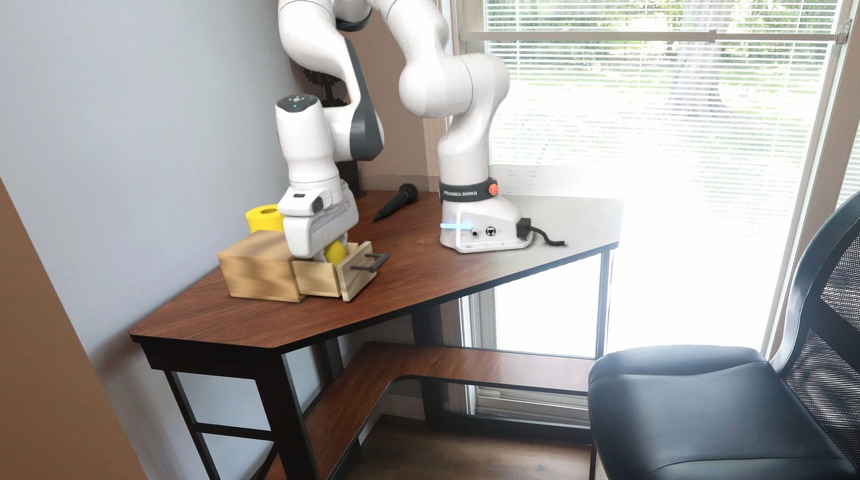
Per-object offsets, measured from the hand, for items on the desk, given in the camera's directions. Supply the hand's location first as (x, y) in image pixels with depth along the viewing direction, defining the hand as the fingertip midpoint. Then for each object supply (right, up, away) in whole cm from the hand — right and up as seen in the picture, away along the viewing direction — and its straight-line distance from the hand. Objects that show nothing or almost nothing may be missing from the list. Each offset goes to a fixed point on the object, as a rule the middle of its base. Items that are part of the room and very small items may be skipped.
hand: (333, 261), depth 113 cm
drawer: (+1, -5, +3) cm, 5 cm away
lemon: (0, -3, +2) cm, 3 cm away
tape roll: (-20, +7, +23) cm, 31 cm away
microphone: (+3, +22, +44) cm, 49 cm away
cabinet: (-12, -4, +6) cm, 14 cm away
